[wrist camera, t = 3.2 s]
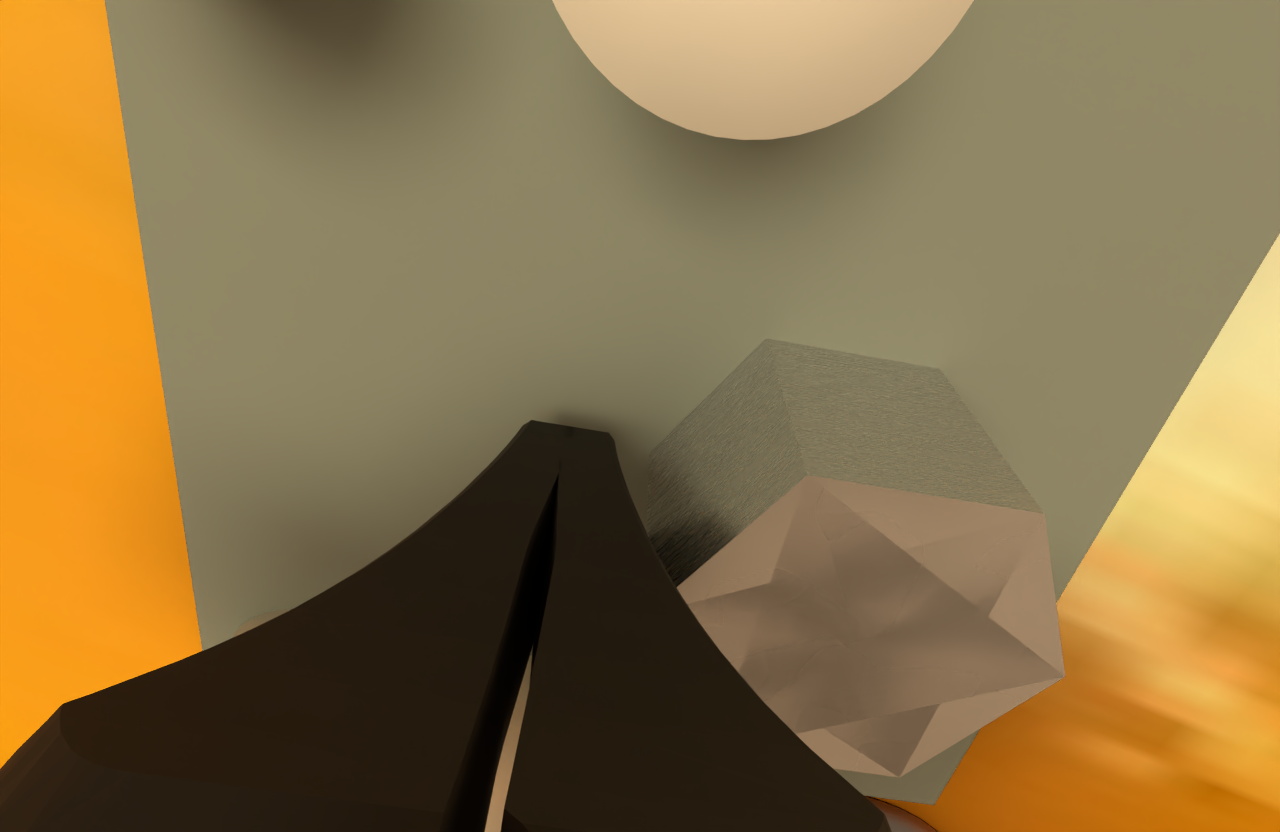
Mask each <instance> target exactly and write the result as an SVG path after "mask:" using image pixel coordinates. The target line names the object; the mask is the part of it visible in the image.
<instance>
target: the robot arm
mask: <svg viewBox="0 0 1280 832" xmlns="http://www.w3.org/2000/svg"><path fill="white" fill-rule="evenodd" d="M532 646H533V650H532ZM531 650H532V661H531V673H530V685H529V691H528V696H527V701H526V706H525V711H524V716H523V721H522V725H521V730H520V735H519V740H518V744H517V749H516V754H515V759H514V763H513V768H512V773H511V778H510V782H509V787H508V792H507V796H506V801H505V806H504V812H503V818H502V825H501V832H892V831H891V828H890V826H889V823H888V821H887V818H886V816H885V814H884V813H883V812H882V811H881V810H879V809H878V808H877V807H876V806H875V805H874V804H873V803H872V802H870V801H869V800H868V799H867V798H866V797H865V796H864V795H862V794H861V793H860V792H859V791H858V790H857V789H856V788H854V787H853V786H852V785H851V784H850V783H849V782H848V781H847V780H845V779H844V778H843V777H842V776H841V775H840V774H839V773H837V772H836V771H835V770H834V769H833V768H832V767H831V766H829V765H828V764H827V763H826V762H825V761H824V760H823V759H822V758H820V757H819V756H818V755H817V754H816V753H815V752H814V751H812V750H811V749H810V748H809V747H808V746H807V745H806V744H805V743H804V742H803V741H802V740H801V739H800V738H799V737H798V736H797V735H796V734H795V733H794V732H793V731H792V730H791V729H790V728H789V727H788V726H787V725H786V724H785V723H784V722H783V721H782V720H781V719H780V718H779V717H778V716H777V715H776V714H775V713H774V712H773V711H772V710H771V709H770V708H769V707H768V706H767V705H766V704H765V703H764V702H763V700H762V699H761V698H760V697H759V696H758V695H757V694H756V692H755V691H754V690H753V689H752V688H751V687H750V685H749V684H748V683H747V682H746V681H745V680H744V678H743V677H742V676H741V675H740V674H739V672H738V671H737V670H736V669H735V668H734V667H733V665H732V664H731V663H730V662H729V661H728V660H727V658H726V657H725V656H724V655H723V654H722V652H721V651H720V650H719V649H718V647H717V646H716V644H715V643H714V642H713V640H712V639H711V638H710V636H709V635H708V634H707V632H706V631H705V629H704V628H703V627H702V625H701V624H700V623H699V621H698V620H697V618H696V617H695V615H694V614H693V612H692V611H691V609H690V608H689V606H688V605H687V603H686V602H685V600H684V599H683V597H682V596H681V594H680V592H679V591H678V589H677V588H676V586H675V584H674V583H673V581H672V579H671V577H670V576H669V574H668V572H667V571H666V569H665V567H664V565H663V563H662V561H661V559H660V558H659V556H658V554H657V552H656V550H655V548H654V546H653V544H652V542H651V540H650V538H649V536H648V534H647V532H646V530H645V528H644V526H643V523H642V521H641V519H640V516H639V514H638V512H637V510H636V507H635V505H634V503H633V500H632V498H631V495H630V493H629V490H628V488H627V485H626V482H625V479H624V476H623V473H622V470H621V467H620V463H619V460H618V456H617V451H616V446H615V441H614V439H613V438H612V436H611V435H610V434H609V433H608V432H602V431H596V430H590V429H583V428H577V427H571V426H565V425H559V424H553V423H547V422H541V421H535V420H530V421H529V422H527V423H526V424H524V425H523V426H522V427H521V428H520V430H519V431H518V432H517V434H516V435H515V436H514V437H513V439H512V440H511V441H510V442H509V443H508V445H507V446H506V447H505V448H504V449H503V450H502V451H501V452H500V453H499V455H498V456H497V457H496V458H495V459H494V460H493V461H492V462H491V463H490V464H489V465H488V466H487V467H486V468H485V469H484V470H483V471H482V472H481V473H480V474H479V475H478V476H477V477H476V478H475V479H474V480H473V481H472V482H471V483H470V484H469V485H468V486H467V487H466V488H465V489H464V490H463V491H461V492H460V493H459V494H458V495H457V496H456V497H455V498H454V499H453V500H451V501H450V502H449V503H448V504H447V505H445V506H444V507H443V508H442V509H441V510H439V511H438V512H437V513H436V514H435V515H434V516H432V517H431V518H430V519H429V520H428V521H426V522H425V523H424V524H423V525H422V526H420V527H419V528H418V529H417V530H415V531H414V532H413V533H411V534H410V535H409V536H407V537H406V538H405V539H403V540H402V541H401V542H399V543H398V544H397V545H395V546H394V547H392V548H391V549H390V550H388V551H387V552H385V553H384V554H382V555H381V556H379V557H378V558H377V559H375V560H374V561H372V562H371V563H369V564H368V565H366V566H365V567H363V568H362V569H360V570H359V571H357V572H355V573H354V574H352V575H350V576H349V577H347V578H345V579H344V580H342V581H340V582H339V583H337V584H335V585H334V586H332V587H330V588H329V589H327V590H325V591H324V592H322V593H320V594H318V595H317V596H315V597H313V598H311V599H310V600H308V601H306V602H304V603H303V604H301V605H299V606H297V607H295V608H293V609H292V610H290V611H288V612H286V613H284V614H282V615H280V616H278V617H275V618H273V619H271V620H269V621H267V622H265V623H263V624H261V625H259V626H257V627H255V628H253V629H251V630H249V631H246V632H244V633H242V634H240V635H238V636H235V637H233V638H231V639H229V640H226V641H224V642H222V643H220V644H217V645H215V646H213V647H211V648H209V649H206V650H204V651H201V652H199V653H197V654H194V655H192V656H189V657H187V658H185V659H182V660H180V661H177V662H175V663H172V664H169V665H167V666H164V667H161V668H159V669H156V670H153V671H151V672H148V673H146V674H143V675H140V676H138V677H135V678H132V679H130V680H127V681H124V682H122V683H119V684H116V685H114V686H111V687H108V688H106V689H103V690H101V691H98V692H95V693H93V694H90V695H87V696H84V697H81V698H78V699H75V700H72V701H70V702H67V703H64V704H62V705H61V706H60V707H59V708H58V709H57V710H56V712H55V713H54V714H53V715H52V716H51V717H50V718H49V719H48V720H47V721H46V722H45V723H44V724H43V725H42V726H41V727H40V728H39V729H38V730H37V731H36V732H35V733H34V734H33V735H32V736H31V737H30V738H29V739H28V740H27V741H26V742H25V743H24V744H23V745H22V746H21V747H20V748H19V749H18V750H17V751H16V752H15V753H14V754H13V755H12V756H11V758H10V759H9V760H8V761H7V762H6V763H5V764H4V766H3V767H2V768H1V769H0V832H485V827H486V822H487V817H488V812H489V807H490V802H491V797H492V792H493V787H494V782H495V777H496V773H497V769H498V765H499V761H500V757H501V753H502V749H503V745H504V741H505V737H506V734H507V731H508V727H509V724H510V721H511V717H512V714H513V711H514V707H515V704H516V700H517V697H518V694H519V690H520V687H521V684H522V680H523V677H524V673H525V670H526V667H527V663H528V660H529V657H530V653H531Z"/></svg>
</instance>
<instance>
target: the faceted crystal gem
mask: <svg viewBox="0 0 1280 832" xmlns="http://www.w3.org/2000/svg"><path fill="white" fill-rule="evenodd" d="M647 534H648V536H649V538H650V540H651V542H652V544H653V546H654V548H655V550H656V552H657V554H658V556H659V558H660V559H661V561H662V563H663V565H664V567H665V569H666V571H667V572H668V574H669V576H670V577H671V579H672V581H673V583H674V584H675V586H676V588H677V589H678V591H679V592H680V594H681V596H682V597H683V599H684V600H685V602H686V603H687V605H688V606H689V608H690V609H691V611H692V612H693V614H694V615H695V617H696V618H697V620H698V621H699V623H700V624H701V625H702V627H703V628H704V629H705V631H706V632H707V634H708V635H709V636H710V638H711V639H712V640H713V642H714V643H715V644H716V646H717V647H718V649H719V650H720V651H721V652H722V654H723V655H724V656H725V657H726V658H727V660H728V661H729V662H730V663H731V664H732V665H733V667H734V668H735V669H736V670H737V671H738V672H739V674H740V675H741V676H742V677H743V678H744V680H745V681H746V682H747V683H748V684H749V685H750V687H751V688H752V689H753V690H754V691H755V692H756V694H757V695H758V696H759V697H760V698H761V699H762V700H763V702H764V703H765V704H766V705H767V706H768V707H769V708H770V709H771V710H772V711H773V712H774V713H775V714H776V715H777V716H778V717H779V718H780V719H781V720H782V721H783V722H784V723H785V724H786V725H787V726H788V727H789V728H790V729H791V730H792V731H793V732H794V733H795V734H796V735H797V736H798V737H799V738H800V739H801V740H802V741H803V742H804V743H805V744H806V745H807V746H808V747H809V748H810V749H811V750H812V751H814V752H815V753H816V754H817V755H818V756H819V757H820V758H822V759H823V760H824V761H825V762H826V763H827V764H828V765H829V766H831V767H832V768H833V769H840V770H848V771H855V772H862V773H870V774H877V775H884V776H892V777H899V778H900V777H901V776H903V775H904V774H906V773H908V772H909V771H911V770H913V769H914V768H916V767H918V766H919V765H921V764H923V763H924V762H926V761H927V760H929V759H931V758H932V757H934V756H936V755H937V754H939V753H941V752H942V751H944V750H946V749H947V748H949V747H951V746H952V745H954V744H955V743H957V742H959V741H960V740H962V739H964V738H965V737H967V736H969V735H970V734H972V733H974V732H975V731H977V730H979V729H980V728H982V727H983V726H985V725H987V724H988V723H990V722H992V721H993V720H995V719H997V718H998V717H1000V716H1002V715H1003V714H1005V713H1006V712H1008V711H1010V710H1011V709H1013V708H1015V707H1016V706H1018V705H1020V704H1021V703H1023V702H1025V701H1026V700H1028V699H1030V698H1031V697H1033V696H1034V695H1036V694H1038V693H1039V692H1041V691H1043V690H1044V689H1046V688H1048V687H1049V686H1051V685H1053V684H1054V683H1056V682H1057V681H1059V680H1061V679H1062V678H1064V677H1065V670H1064V662H1063V654H1062V646H1061V638H1060V631H1059V623H1058V615H1057V607H1056V599H1055V591H1054V583H1053V575H1052V567H1051V559H1050V552H1049V544H1048V536H1047V528H1046V520H1045V514H1044V512H1043V511H1042V509H1041V508H1040V507H1039V505H1038V504H1037V503H1036V501H1035V500H1034V498H1033V497H1032V496H1031V494H1030V493H1029V491H1028V490H1027V489H1026V487H1025V486H1024V485H1023V483H1022V482H1021V480H1020V479H1019V478H1018V476H1017V475H1016V474H1015V472H1014V471H1013V469H1012V468H1011V467H1010V465H1009V464H1008V462H1007V461H1006V460H1005V458H1004V457H1003V456H1002V454H1001V453H1000V451H999V450H998V449H997V447H996V446H995V445H994V443H993V442H992V440H991V439H990V438H989V436H988V435H987V433H986V432H985V431H984V429H983V428H982V427H981V425H980V424H979V422H978V421H977V420H976V418H975V417H974V416H973V414H972V413H971V411H970V410H969V409H968V407H967V406H966V404H965V403H964V402H963V400H962V399H961V398H960V396H959V395H958V393H957V392H956V391H955V389H954V388H953V387H952V385H951V384H950V382H949V381H948V380H947V378H946V377H945V375H944V374H943V373H942V371H941V370H940V369H938V368H932V367H927V366H921V365H915V364H910V363H904V362H898V361H893V360H887V359H881V358H876V357H870V356H864V355H859V354H853V353H847V352H842V351H836V350H830V349H825V348H819V347H813V346H807V345H802V344H796V343H790V342H785V341H779V340H773V339H768V338H766V339H765V340H764V341H763V342H762V343H761V344H760V345H759V346H758V347H757V348H756V349H755V350H754V351H753V352H752V353H751V354H750V355H749V356H748V357H747V358H746V359H745V360H744V361H743V362H742V363H741V364H740V365H739V366H738V367H737V368H736V369H735V370H734V371H732V372H731V373H730V374H729V375H728V376H727V377H726V378H725V379H724V380H723V381H722V382H721V383H720V384H719V385H718V386H717V387H716V388H715V389H714V390H713V391H712V392H711V393H710V394H709V395H708V396H707V397H706V398H705V399H704V400H703V401H702V402H701V403H700V404H699V405H698V406H697V407H696V408H695V409H694V410H693V411H692V412H691V413H690V414H689V415H688V416H687V417H686V418H685V419H684V420H683V421H682V422H681V423H680V424H679V425H678V426H677V427H676V428H675V429H674V430H673V431H671V432H670V433H669V434H668V435H667V436H666V437H665V438H664V439H663V440H662V441H661V442H660V443H659V444H658V445H657V446H656V447H655V448H654V449H653V450H652V451H651V452H650V453H649V470H648V514H647Z"/></svg>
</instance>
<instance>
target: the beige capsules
mask: <svg viewBox="0 0 1280 832" xmlns="http://www.w3.org/2000/svg"><path fill="white" fill-rule="evenodd" d="M552 1H553V3H554V5H555V7H556V10H557V11H558V13H559V15H560V17H561V18H562V20H563V22H564V23H565V25H566V27H567V29H568V30H569V32H570V34H571V36H572V37H573V39H574V40H575V41H576V43H577V44H578V45H579V47H580V48H581V49H582V51H583V52H584V53H585V55H586V56H587V57H588V59H589V60H590V61H591V63H592V64H593V65H594V66H595V67H596V68H597V69H598V70H599V71H600V72H601V73H602V74H603V75H604V76H605V77H606V78H607V79H608V80H609V81H610V82H611V83H612V84H613V85H614V86H615V87H616V88H617V89H619V90H620V91H621V92H623V93H624V94H625V95H626V96H628V97H629V98H630V99H631V100H633V101H634V102H635V103H636V104H638V105H640V106H641V107H643V108H645V109H646V110H648V111H650V112H652V113H653V114H655V115H657V116H658V117H660V118H662V119H664V120H666V121H669V122H671V123H674V124H676V125H678V126H681V127H683V128H685V129H688V130H692V131H696V132H699V133H703V134H707V135H711V136H714V137H722V138H730V139H739V140H769V139H777V138H783V137H790V136H796V135H801V134H804V133H808V132H811V131H815V130H818V129H822V128H825V127H828V126H830V125H832V124H835V123H837V122H839V121H842V120H844V119H846V118H849V117H851V116H853V115H855V114H857V113H859V112H860V111H862V110H864V109H865V108H867V107H869V106H871V105H872V104H874V103H876V102H877V101H879V100H881V99H882V98H884V97H885V96H886V95H887V94H889V93H890V92H891V91H893V90H894V89H895V88H897V87H898V86H899V85H901V84H902V83H903V82H905V81H906V80H907V79H908V78H909V77H910V76H911V75H913V74H914V73H915V72H916V71H917V70H918V69H919V68H920V67H921V66H922V65H923V64H924V63H925V62H926V61H927V60H928V59H929V58H930V57H931V56H932V55H933V54H934V53H935V52H936V50H937V49H938V48H939V47H940V46H941V45H942V43H943V42H944V41H945V40H946V39H947V37H948V36H949V35H950V34H951V33H952V32H953V30H954V29H955V28H956V26H957V25H958V23H959V22H960V20H961V19H962V17H963V16H964V14H965V13H966V11H967V10H968V8H969V7H970V5H971V4H972V2H973V1H974V0H552ZM288 611H290V610H276V611H271V612H266V613H263V614H260V615H257V616H255V617H253V618H251V619H249V620H248V621H246V622H245V623H244V624H242V625H241V626H240V627H239V628H238V630H237V631H236V632H235V634H234V635H233V637H235V636H238V635H240V634H242V633H244V632H246V631H249V630H251V629H253V628H255V627H257V626H259V625H261V624H263V623H265V622H267V621H269V620H271V619H273V618H275V617H278V616H280V615H282V614H284V613H286V612H288ZM233 637H232V638H233ZM531 661H532V655H530V657H529V660H528V663H527V667H526V670H525V673H524V677H523V680H522V684H521V687H520V690H519V694H518V697H517V700H516V704H515V707H514V711H513V714H512V717H511V721H510V724H509V727H508V731H507V734H506V737H505V741H504V745H503V749H502V753H501V757H500V761H499V765H498V769H497V773H496V777H495V782H494V787H493V792H492V797H491V802H490V807H489V812H488V817H487V822H486V827H485V832H501V825H502V818H503V812H504V806H505V801H506V796H507V792H508V787H509V782H510V778H511V773H512V768H513V763H514V759H515V754H516V749H517V744H518V740H519V735H520V730H521V725H522V721H523V716H524V711H525V706H526V701H527V696H528V691H529V685H530V673H531Z"/></svg>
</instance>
